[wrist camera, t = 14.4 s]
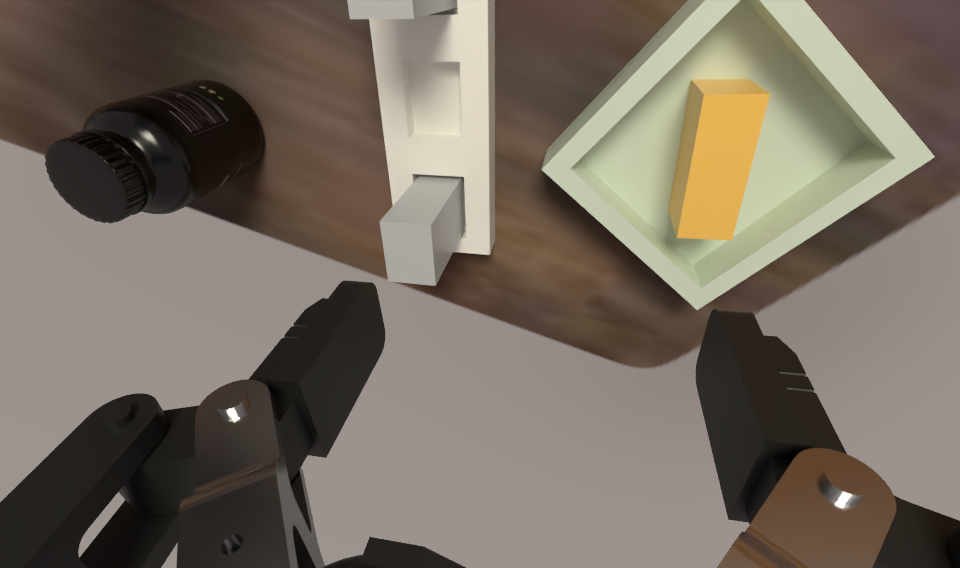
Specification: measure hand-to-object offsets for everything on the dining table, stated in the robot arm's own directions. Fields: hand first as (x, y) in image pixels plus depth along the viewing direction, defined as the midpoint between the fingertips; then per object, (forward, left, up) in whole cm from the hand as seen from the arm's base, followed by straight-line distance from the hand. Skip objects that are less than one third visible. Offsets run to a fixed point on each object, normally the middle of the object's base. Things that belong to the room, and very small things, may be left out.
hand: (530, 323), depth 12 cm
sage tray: (-4, +8, -23) cm, 24 cm away
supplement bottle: (+18, -18, -23) cm, 34 cm away
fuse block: (+5, -7, -23) cm, 24 cm away
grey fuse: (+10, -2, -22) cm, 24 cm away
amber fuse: (-1, +10, -20) cm, 22 cm away
